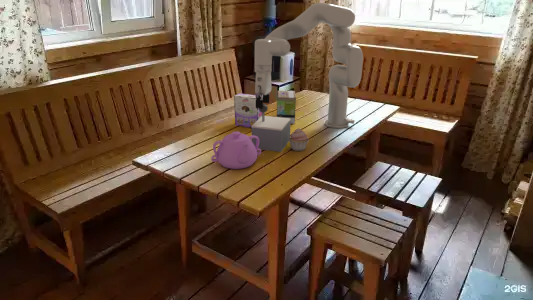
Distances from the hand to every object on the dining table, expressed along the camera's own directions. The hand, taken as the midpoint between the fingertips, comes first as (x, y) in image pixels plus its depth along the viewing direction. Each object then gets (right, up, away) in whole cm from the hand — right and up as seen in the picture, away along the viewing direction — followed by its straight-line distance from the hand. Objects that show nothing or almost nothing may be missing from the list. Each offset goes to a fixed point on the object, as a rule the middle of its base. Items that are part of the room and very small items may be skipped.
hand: (262, 105), depth 190 cm
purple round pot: (-10, -27, -16) cm, 33 cm away
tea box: (+12, -4, +40) cm, 42 cm away
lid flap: (+4, -8, +2) cm, 9 cm away
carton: (+4, -17, +6) cm, 19 cm away
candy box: (-8, -8, +30) cm, 32 cm away
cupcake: (+16, -20, +1) cm, 26 cm away
